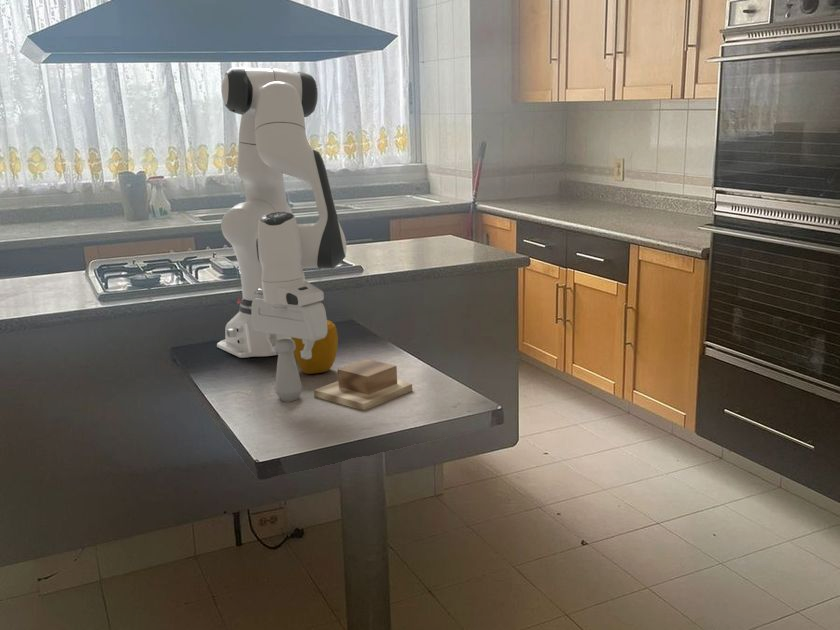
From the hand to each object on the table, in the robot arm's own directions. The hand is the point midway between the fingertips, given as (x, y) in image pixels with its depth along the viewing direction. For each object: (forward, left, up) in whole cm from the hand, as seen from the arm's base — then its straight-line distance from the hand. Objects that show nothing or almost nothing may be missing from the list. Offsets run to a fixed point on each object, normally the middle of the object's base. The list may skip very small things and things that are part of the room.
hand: (291, 355), depth 171 cm
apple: (-10, +15, -10) cm, 21 cm away
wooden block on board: (+10, +11, -10) cm, 18 cm away
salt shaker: (-1, -1, -10) cm, 10 cm away
